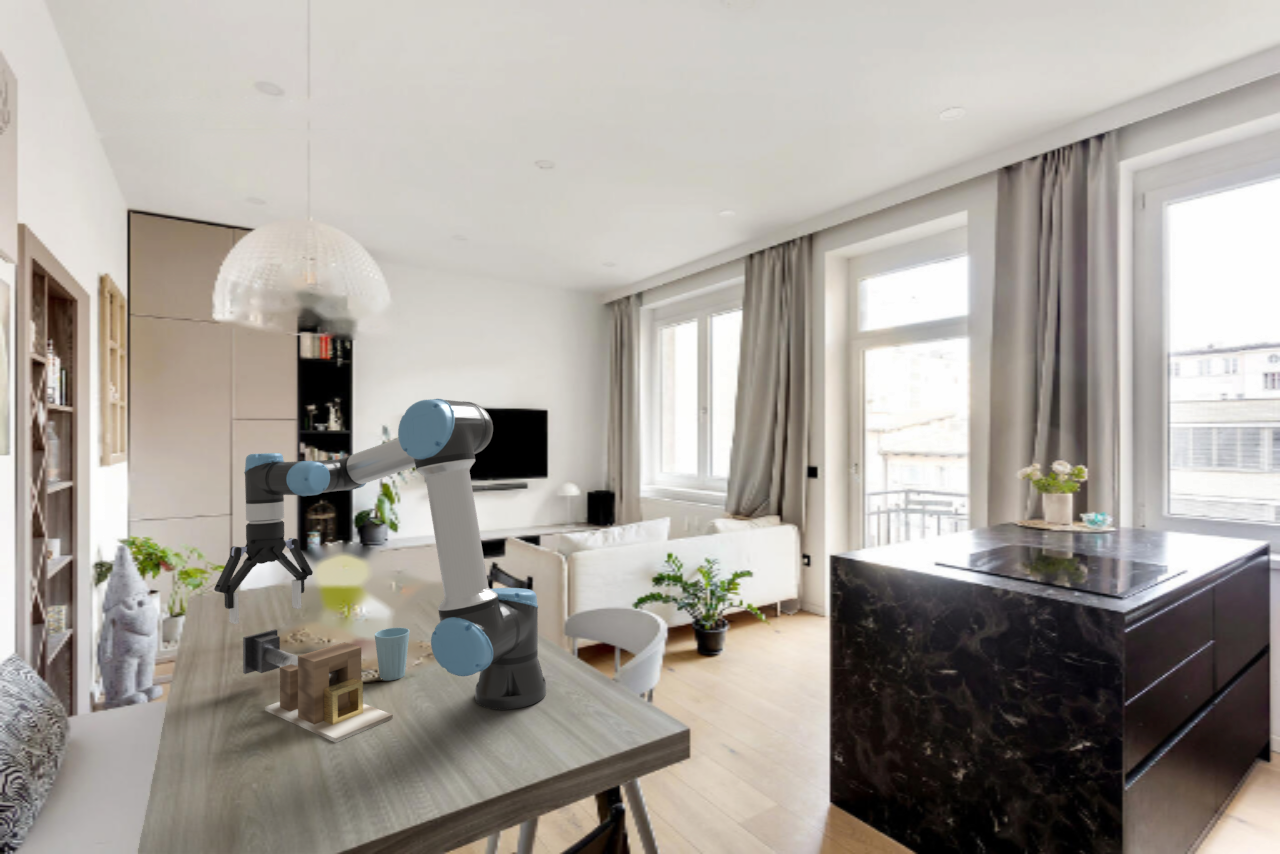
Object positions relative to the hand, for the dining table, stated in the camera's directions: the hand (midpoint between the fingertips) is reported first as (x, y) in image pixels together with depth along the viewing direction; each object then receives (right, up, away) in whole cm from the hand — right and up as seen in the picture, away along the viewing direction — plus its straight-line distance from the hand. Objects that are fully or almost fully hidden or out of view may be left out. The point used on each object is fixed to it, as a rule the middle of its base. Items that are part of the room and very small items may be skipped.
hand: (266, 615), depth 145 cm
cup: (+26, -17, +6) cm, 32 cm away
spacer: (+25, -12, -17) cm, 33 cm away
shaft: (+10, -12, -7) cm, 17 cm away
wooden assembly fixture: (+22, -16, -15) cm, 31 cm away
